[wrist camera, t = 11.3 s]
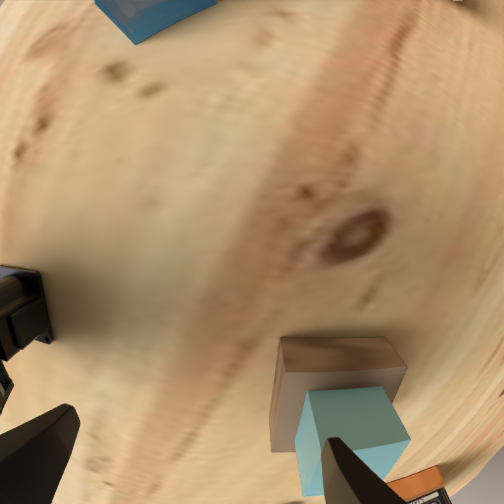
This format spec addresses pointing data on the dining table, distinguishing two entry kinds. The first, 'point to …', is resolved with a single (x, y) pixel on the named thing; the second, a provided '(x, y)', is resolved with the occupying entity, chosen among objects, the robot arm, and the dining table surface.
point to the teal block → (348, 432)
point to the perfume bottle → (149, 14)
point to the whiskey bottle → (422, 488)
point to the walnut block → (326, 376)
